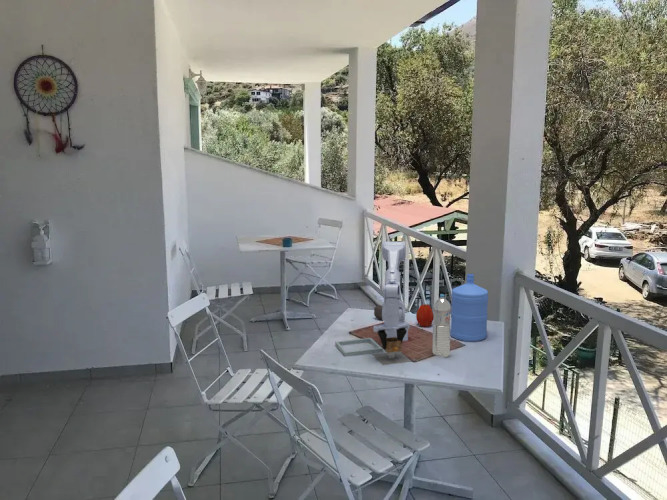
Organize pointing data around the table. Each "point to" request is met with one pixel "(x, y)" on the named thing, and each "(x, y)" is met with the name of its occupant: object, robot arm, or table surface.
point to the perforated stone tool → (378, 311)
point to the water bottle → (441, 327)
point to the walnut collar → (393, 345)
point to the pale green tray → (359, 352)
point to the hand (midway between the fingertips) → (391, 347)
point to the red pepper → (424, 315)
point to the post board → (391, 358)
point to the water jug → (469, 311)
